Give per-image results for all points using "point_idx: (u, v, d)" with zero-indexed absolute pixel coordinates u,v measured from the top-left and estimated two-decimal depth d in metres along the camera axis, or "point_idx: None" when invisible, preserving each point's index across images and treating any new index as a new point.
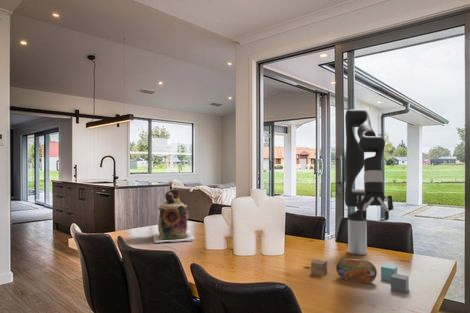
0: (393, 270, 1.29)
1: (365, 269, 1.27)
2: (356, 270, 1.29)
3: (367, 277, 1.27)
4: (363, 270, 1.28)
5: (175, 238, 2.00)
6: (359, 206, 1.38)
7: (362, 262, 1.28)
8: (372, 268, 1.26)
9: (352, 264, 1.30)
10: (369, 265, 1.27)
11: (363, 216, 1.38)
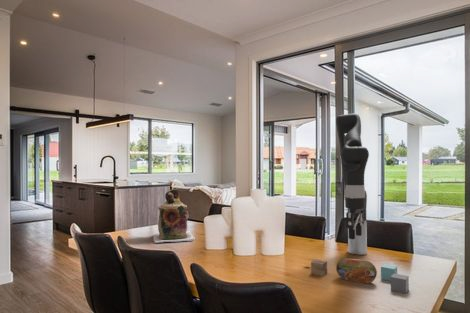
0: (393, 270, 1.29)
1: (365, 269, 1.27)
2: (356, 270, 1.29)
3: (367, 277, 1.27)
4: (363, 270, 1.28)
5: (175, 238, 2.00)
6: (353, 225, 1.25)
7: (362, 262, 1.28)
8: (372, 268, 1.26)
9: (352, 264, 1.30)
10: (369, 265, 1.27)
11: (353, 235, 1.27)
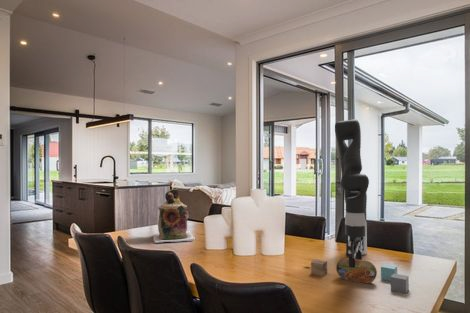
0: (393, 270, 1.29)
1: (365, 269, 1.27)
2: (356, 270, 1.29)
3: (367, 277, 1.27)
4: (363, 270, 1.28)
5: (175, 238, 2.00)
6: (353, 254, 1.25)
7: (362, 262, 1.28)
8: (372, 268, 1.26)
9: None
10: (369, 265, 1.27)
11: (353, 264, 1.26)
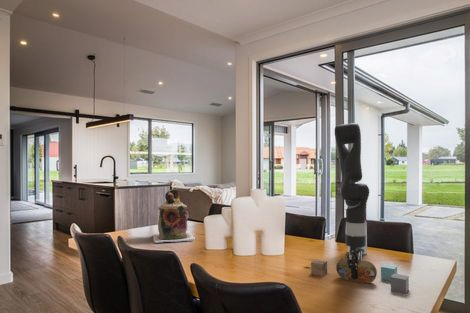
0: (393, 270, 1.29)
1: (365, 269, 1.27)
2: None
3: (367, 277, 1.27)
4: (363, 270, 1.28)
5: (175, 238, 2.00)
6: (355, 266, 1.26)
7: (362, 262, 1.28)
8: (372, 268, 1.26)
9: None
10: (369, 265, 1.27)
11: (355, 275, 1.28)
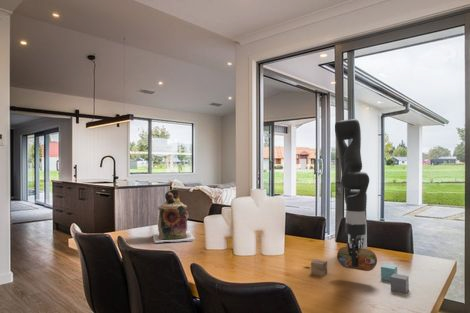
0: (393, 270, 1.29)
1: (365, 257, 1.28)
2: None
3: (367, 265, 1.28)
4: (363, 258, 1.28)
5: (175, 238, 2.00)
6: (355, 254, 1.27)
7: (362, 250, 1.29)
8: (372, 256, 1.27)
9: None
10: (369, 253, 1.27)
11: (356, 263, 1.29)
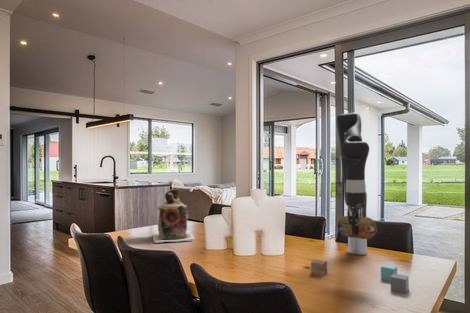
0: (393, 270, 1.29)
1: (365, 225, 1.29)
2: None
3: (367, 233, 1.28)
4: (363, 226, 1.29)
5: (175, 238, 2.00)
6: (356, 222, 1.28)
7: (362, 218, 1.30)
8: (372, 224, 1.27)
9: (353, 221, 1.32)
10: (369, 221, 1.28)
11: (356, 231, 1.30)
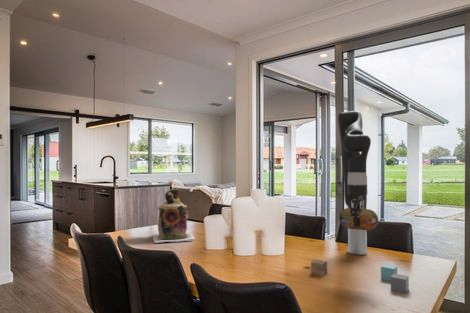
0: (393, 270, 1.29)
1: (367, 217, 1.31)
2: None
3: (368, 224, 1.30)
4: (365, 218, 1.31)
5: (175, 238, 2.00)
6: (357, 213, 1.30)
7: (364, 210, 1.32)
8: (373, 215, 1.29)
9: None
10: (370, 213, 1.30)
11: (357, 223, 1.31)
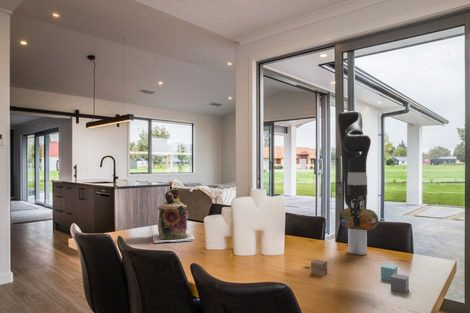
0: (393, 270, 1.29)
1: (367, 217, 1.31)
2: None
3: (368, 224, 1.30)
4: (365, 218, 1.31)
5: (175, 238, 2.00)
6: (357, 213, 1.30)
7: (364, 210, 1.32)
8: (373, 215, 1.29)
9: None
10: (370, 213, 1.30)
11: (357, 223, 1.31)
